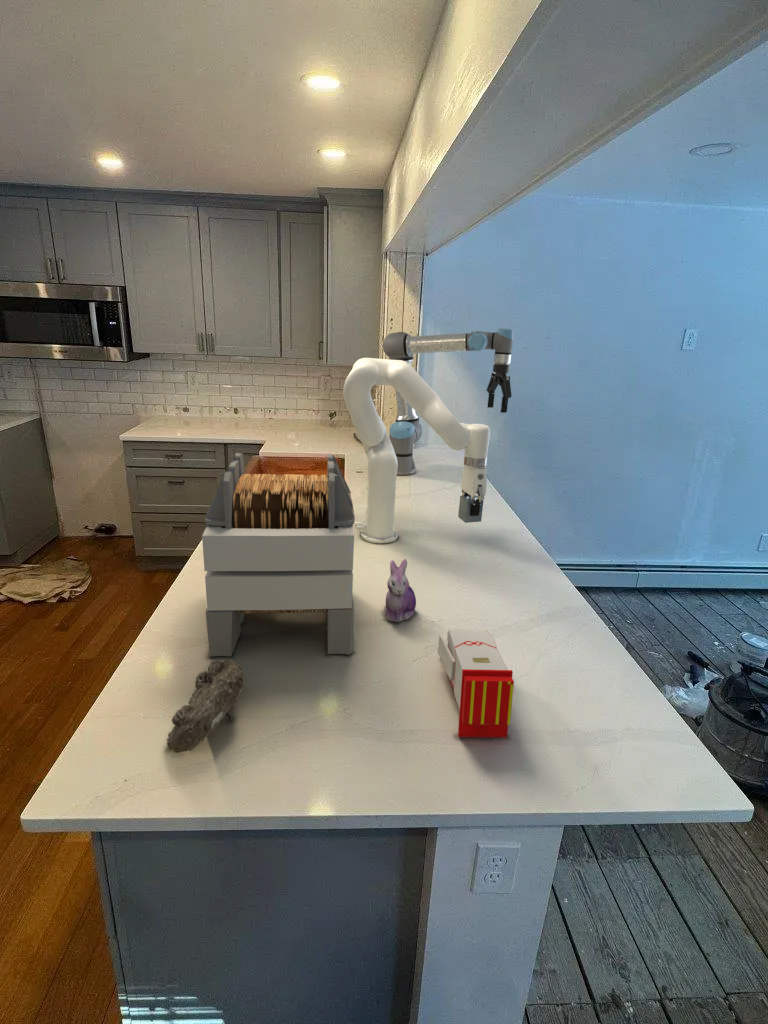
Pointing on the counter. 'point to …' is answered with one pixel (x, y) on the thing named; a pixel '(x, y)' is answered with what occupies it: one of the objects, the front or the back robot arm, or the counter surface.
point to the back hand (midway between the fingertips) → (496, 410)
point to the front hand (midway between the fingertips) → (470, 511)
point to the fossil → (206, 705)
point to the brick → (468, 510)
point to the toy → (478, 682)
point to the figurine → (399, 594)
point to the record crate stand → (279, 552)
